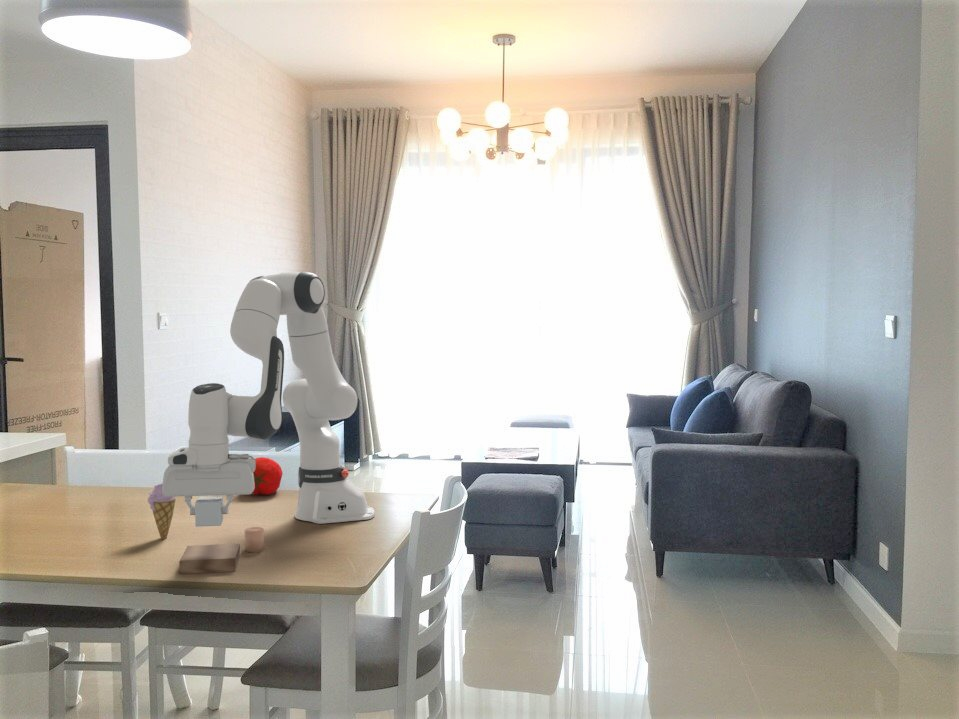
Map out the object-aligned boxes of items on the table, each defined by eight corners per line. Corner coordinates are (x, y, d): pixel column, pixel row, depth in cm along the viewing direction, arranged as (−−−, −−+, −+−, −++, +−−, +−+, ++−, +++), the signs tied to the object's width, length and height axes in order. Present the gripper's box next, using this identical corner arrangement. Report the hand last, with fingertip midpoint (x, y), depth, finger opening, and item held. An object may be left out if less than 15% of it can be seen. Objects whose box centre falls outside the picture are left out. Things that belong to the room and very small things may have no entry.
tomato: (263, 498, 280) (250, 509, 267) (241, 466, 279) (228, 475, 266) (295, 477, 279) (284, 487, 265) (273, 445, 278) (261, 453, 265)
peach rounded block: (264, 546, 214) (264, 526, 214) (263, 551, 209) (263, 531, 209) (245, 547, 213) (245, 527, 213) (244, 552, 209) (243, 532, 208)
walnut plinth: (240, 555, 206) (239, 543, 206) (235, 571, 194) (235, 558, 194) (187, 558, 204) (187, 545, 203) (179, 573, 192) (179, 560, 192)
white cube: (223, 519, 201) (223, 496, 201) (220, 525, 196) (220, 502, 195) (198, 520, 200) (198, 497, 200) (195, 526, 195) (195, 502, 194)
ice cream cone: (159, 543, 216) (158, 484, 215) (143, 539, 219) (142, 481, 218) (181, 537, 222) (180, 479, 221) (165, 533, 225) (164, 477, 224)
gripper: (256, 451, 202) (256, 509, 203) (165, 453, 198) (166, 512, 199) (254, 456, 196) (254, 515, 197) (160, 458, 192) (161, 519, 193)
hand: (209, 514), depth 198 cm, fingers closed on white cube, 5 cm apart
